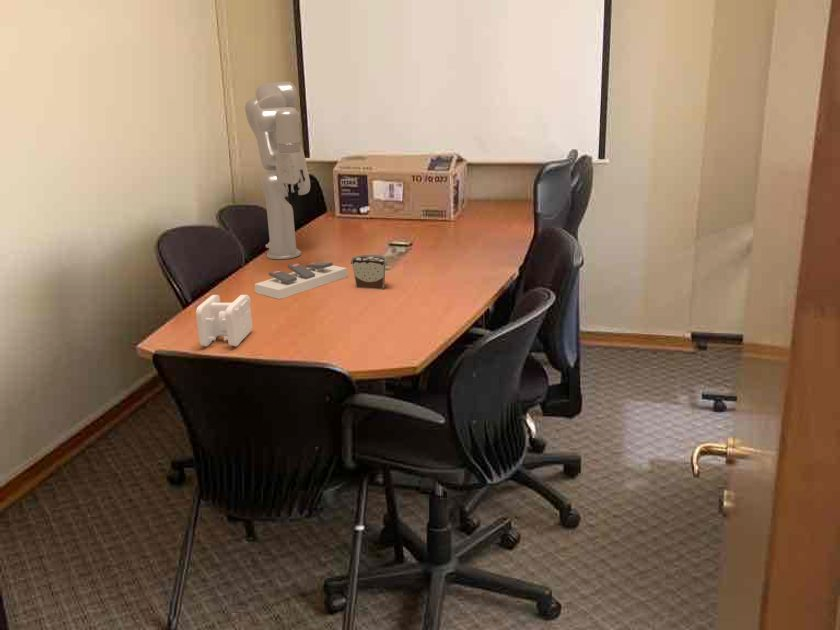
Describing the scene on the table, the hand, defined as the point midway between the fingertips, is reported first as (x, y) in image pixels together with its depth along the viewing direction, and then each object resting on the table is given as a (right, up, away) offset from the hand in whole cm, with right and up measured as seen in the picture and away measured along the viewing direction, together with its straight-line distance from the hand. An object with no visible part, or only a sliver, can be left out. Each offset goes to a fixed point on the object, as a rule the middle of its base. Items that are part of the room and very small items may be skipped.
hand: (294, 203), depth 292 cm
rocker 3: (+8, -21, +2) cm, 22 cm away
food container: (+27, -28, -7) cm, 40 cm away
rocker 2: (+3, -23, -4) cm, 23 cm away
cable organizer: (-11, -45, -51) cm, 69 cm away
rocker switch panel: (+3, -27, -3) cm, 28 cm away
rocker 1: (-2, -25, -10) cm, 27 cm away
